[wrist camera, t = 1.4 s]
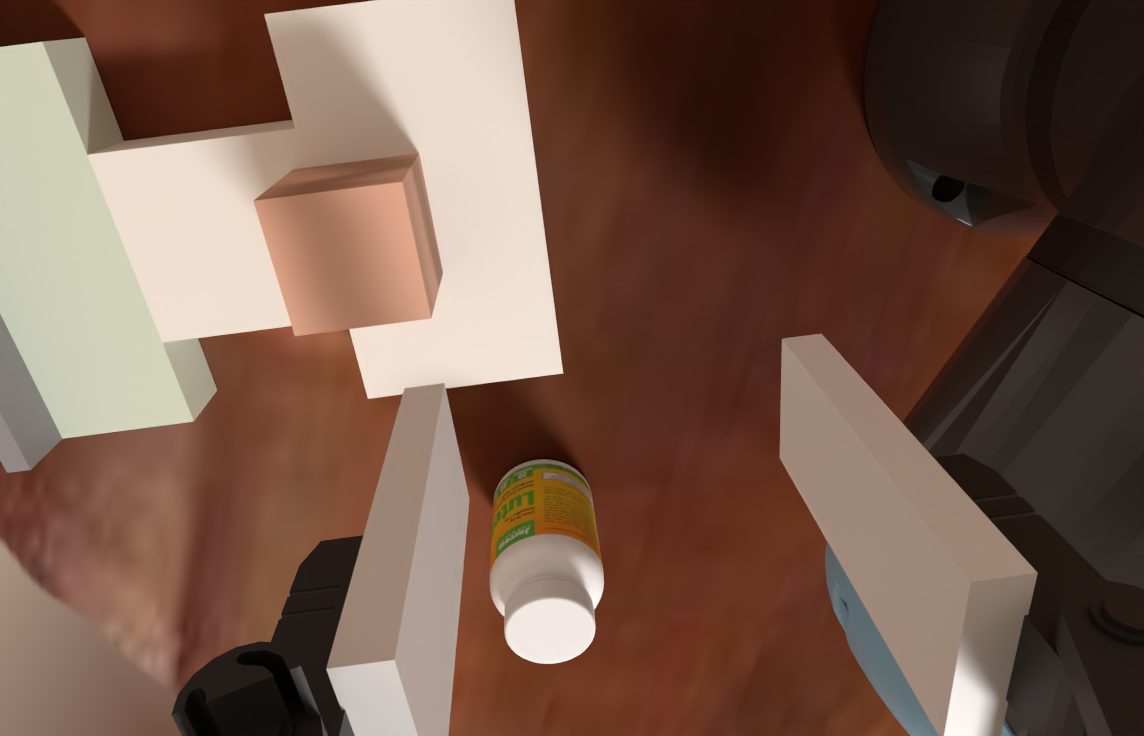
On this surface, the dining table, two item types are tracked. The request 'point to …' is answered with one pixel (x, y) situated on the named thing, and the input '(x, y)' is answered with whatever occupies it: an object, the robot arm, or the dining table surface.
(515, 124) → the board
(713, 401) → the dining table surface
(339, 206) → the block
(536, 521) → the supplement bottle
